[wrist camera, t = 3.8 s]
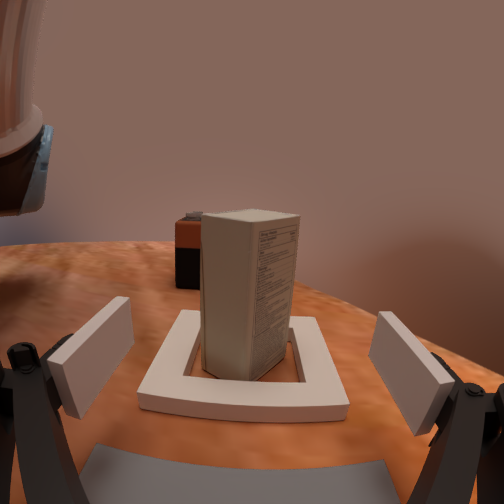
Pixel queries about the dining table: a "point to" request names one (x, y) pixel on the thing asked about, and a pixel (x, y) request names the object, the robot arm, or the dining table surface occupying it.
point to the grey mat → (228, 482)
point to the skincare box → (246, 290)
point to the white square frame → (244, 392)
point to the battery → (188, 251)
